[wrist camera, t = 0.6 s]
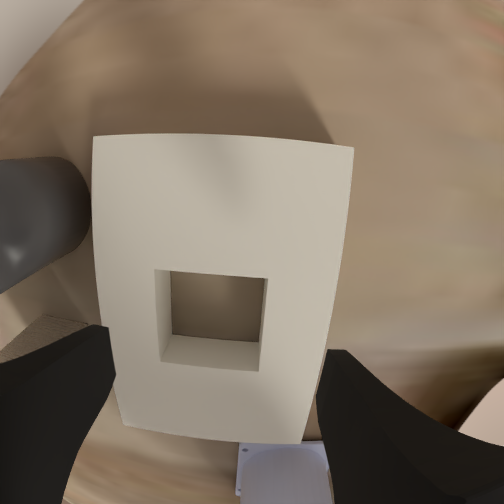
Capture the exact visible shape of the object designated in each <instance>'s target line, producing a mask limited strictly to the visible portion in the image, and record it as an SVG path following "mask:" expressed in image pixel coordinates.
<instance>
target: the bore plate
mask: <svg viewBox="0 0 504 504" xmlns="http://www.w3.org/2000/svg"><path fill="white" fill-rule="evenodd" d="M353 157H354V148H353V147H347V146H340V145H333V144H325V143H317V142H309V141H300V140H291V139H280V138H268V137H255V136H240V135H219V134H125V135H106V136H93V153H92V228H93V247H94V261H95V272H96V283H97V292H98V300H99V308H100V315H101V322H102V326H104V327H109V333H110V340H111V347H112V353H113V359H114V365H115V370H116V377H115V380H114V383H113V386H114V390H115V395H116V399H117V403H118V407H119V411H120V415H121V418H122V422H123V425H126V426H131V427H135V428H140V429H145V430H150V431H155V432H161V433H167V434H173V435H179V436H186V437H193V438H201V439H209V440H219V441H230V442H243V443H262V444H301V440H302V437H303V433H304V430H305V426H306V423H307V419H308V415H309V412H310V408H311V404H312V400H313V396H314V392H315V388H316V384H317V380H318V376H319V371H320V367H321V363H322V358H323V354H324V349H325V344H326V340H327V335H328V330H329V325H330V320H331V315H332V310H333V304H334V299H335V293H336V288H337V282H338V276H339V270H340V264H341V257H342V251H343V244H344V237H345V229H346V222H347V214H348V206H349V197H350V188H351V179H352V168H353ZM170 271H180V272H191V273H203V274H215V275H228V276H241V277H254V278H265V281H264V292H263V303H262V313H261V324H260V334H259V342H245V341H232V340H220V339H210V338H200V337H190V336H181V335H173V334H172V314H171V277H170Z"/></svg>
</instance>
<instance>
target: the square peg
mask: <svg viewBox="0 0 504 504" xmlns="http://www.w3.org/2000/svg"><path fill="white" fill-rule="evenodd" d="M85 327H88V324H87V323H82V322H77V321H72V320H67V319H62V318H57V317H53V316H48V315H44V314H42V315H41V316H40V317H39V318H37V319H36V320H35V321H34V322H33V323H31V324H30V325H29V326H28V327H27V328H26V329H24V330H23V331H22V332H21V333H20V334H19V335H18V336H16V337H15V338H14V339H13V340H12V341H11V342H10V343H8V344H7V345H6V346H5V347H4V348H3V349H2V350H1V351H0V363H3V362H6V361H10V360H12V359H15V358H18V357H21V356H23V355H26V354H28V353H30V352H33V351H35V350H37V349H40V348H42V347H44V346H47V345H49V344H51V343H53V342H55V341H57V340H59V339H61V338H63V337H66V336H68V335H70V334H72V333H74V332H76V331H78V330H80V329H83V328H85Z"/></svg>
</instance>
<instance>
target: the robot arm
mask: <svg viewBox="0 0 504 504" xmlns="http://www.w3.org/2000/svg"><path fill="white" fill-rule="evenodd" d="M115 377H116V370H115V365H114V359H113V353H112V347H111V340H110V333H109V327H104V326H99V325H94V324H93V325H90V326H88V327H85V328H83V329H80V330H78V331H76V332H74V333H72V334H70V335H68V336H66V337H63V338H61V339H59V340H57V341H55V342H53V343H51V344H49V345H47V346H44V347H42V348H40V349H37V350H35V351H33V352H30V353H28V354H26V355H23V356H21V357H18V358H15V359H12V360H10V361H6V362H3V363H0V504H61V503H62V499H63V495H64V491H65V488H66V485H67V481H68V478H69V475H70V472H71V469H72V466H73V464H74V461H75V458H76V456H77V453H78V451H79V449H80V447H81V445H82V443H83V441H84V439H85V437H86V435H87V434H88V432H89V430H90V428H91V426H92V425H93V423H94V421H95V419H96V418H97V416H98V414H99V412H100V411H101V409H102V407H103V405H104V403H105V402H106V400H107V398H108V395H109V393H110V391H111V388H112V385H113V383H114V380H115ZM316 405H317V415H318V423H319V427H320V431H321V435H322V440H323V441H301V444H262V443H243V442H240V443H239V453H238V465H237V478H236V490H235V494H236V495H237V496H241V497H240V504H333V503H332V497H331V491H330V486H329V480H328V475H327V472H328V470H329V468H330V473H331V477H332V483H333V491H334V501H335V504H504V446H499V445H495V444H491V443H488V442H484V441H481V440H479V439H476V438H473V437H470V436H467V435H465V434H463V433H460V432H458V431H456V430H454V429H452V428H449V427H447V426H445V425H443V424H441V423H439V422H438V421H436V420H434V419H432V418H430V417H429V416H427V415H426V414H424V413H422V412H421V411H419V410H417V409H416V408H414V407H413V406H411V405H410V404H409V403H407V402H406V401H405V400H403V399H402V398H401V397H399V396H398V395H397V394H395V393H394V392H393V391H392V390H390V389H389V388H388V387H387V386H386V385H384V384H383V383H382V382H381V381H380V380H379V379H377V378H376V377H375V376H374V375H373V374H372V373H371V372H370V371H369V370H367V369H366V368H365V367H364V366H363V365H362V364H361V363H360V362H359V361H358V360H357V359H356V358H354V357H353V356H352V355H351V354H350V353H349V352H348V351H346V350H331V349H327V354H326V358H325V362H324V366H323V370H322V374H321V378H320V382H319V386H318V390H317V394H316Z"/></svg>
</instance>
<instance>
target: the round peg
mask: <svg viewBox="0 0 504 504" xmlns="http://www.w3.org/2000/svg"><path fill="white" fill-rule="evenodd" d="M90 218H91V200H90V194H89V191H88V187H87V185H86V182H85V180H84V178H83V176H82V175H81V173H80V172H79V170H78V169H77V168H76V167H75V166H74V165H73V164H72V163H70V162H69V161H67V160H65V159H63V158H60V157H35V158H21V159H8V160H0V294H1V293H3V292H4V291H6V290H8V289H9V288H11V287H12V286H14V285H15V284H17V283H19V282H20V281H22V280H24V279H25V278H27V277H28V276H30V275H32V274H33V273H35V272H37V271H38V270H40V269H42V268H43V267H45V266H47V265H49V264H50V263H52V262H54V261H55V260H57V259H59V258H61V257H62V256H64V255H66V254H68V253H70V252H71V251H73V250H74V249H75V248H77V247H78V246H79V245H80V243H81V242H82V240H83V239H84V237H85V235H86V233H87V230H88V228H89V223H90Z"/></svg>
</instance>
